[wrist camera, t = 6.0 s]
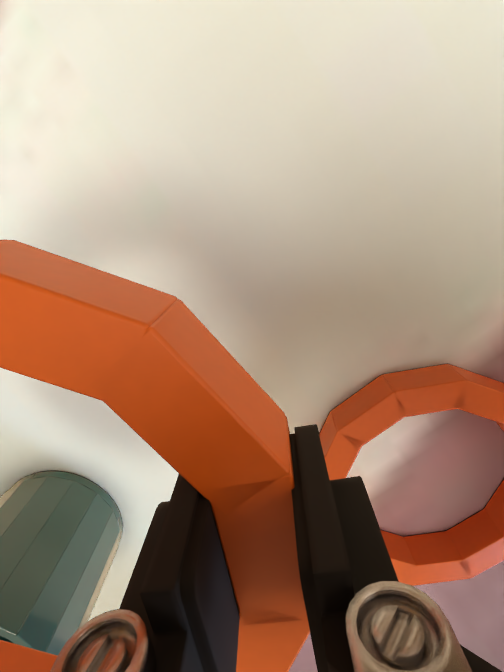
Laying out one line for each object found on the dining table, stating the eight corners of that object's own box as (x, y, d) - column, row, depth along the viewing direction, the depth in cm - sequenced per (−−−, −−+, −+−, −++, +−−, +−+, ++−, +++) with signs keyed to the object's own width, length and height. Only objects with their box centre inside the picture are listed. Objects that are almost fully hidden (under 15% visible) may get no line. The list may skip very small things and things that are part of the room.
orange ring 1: (246, 191, 8) (238, 183, 5) (331, 666, 11) (346, 768, 9) (-339, 309, 9) (-529, 339, 7) (-81, 703, 13) (-149, 800, 11)
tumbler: (101, 461, 24) (14, 603, 15) (137, 558, 26) (78, 726, 18) (-17, 480, 25) (-164, 626, 16) (28, 572, 27) (-79, 743, 18)
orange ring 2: (538, 347, 21) (569, 363, 19) (530, 538, 25) (555, 568, 23) (294, 388, 22) (298, 407, 20) (325, 565, 26) (330, 596, 24)
